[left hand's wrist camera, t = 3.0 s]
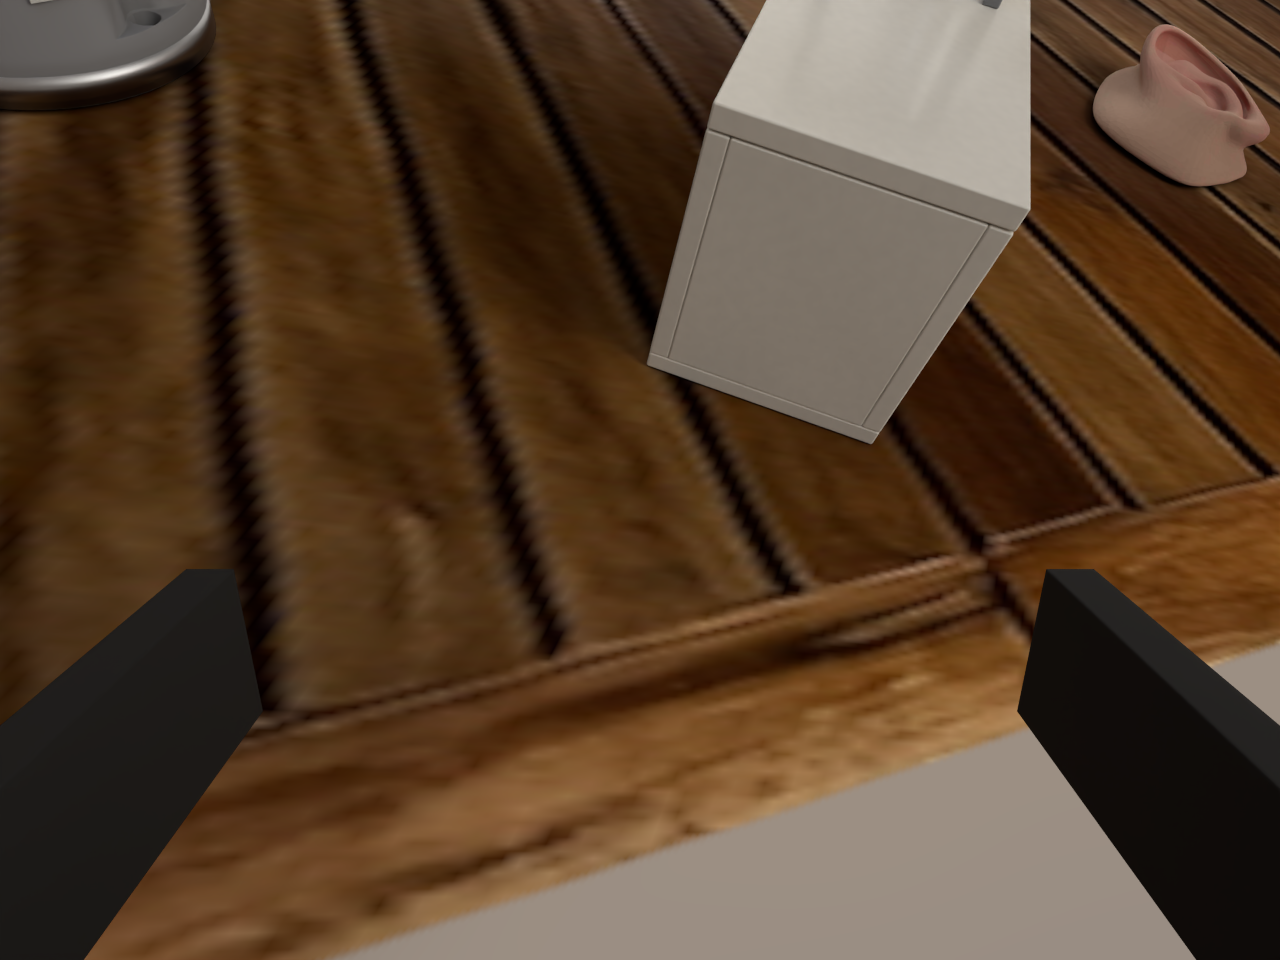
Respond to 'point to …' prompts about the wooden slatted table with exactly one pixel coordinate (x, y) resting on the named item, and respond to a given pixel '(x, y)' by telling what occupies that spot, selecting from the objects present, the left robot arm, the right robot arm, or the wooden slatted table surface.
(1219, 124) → the anatomical model
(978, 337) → the wooden slatted table surface
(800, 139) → the lid
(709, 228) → the chest
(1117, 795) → the left robot arm
